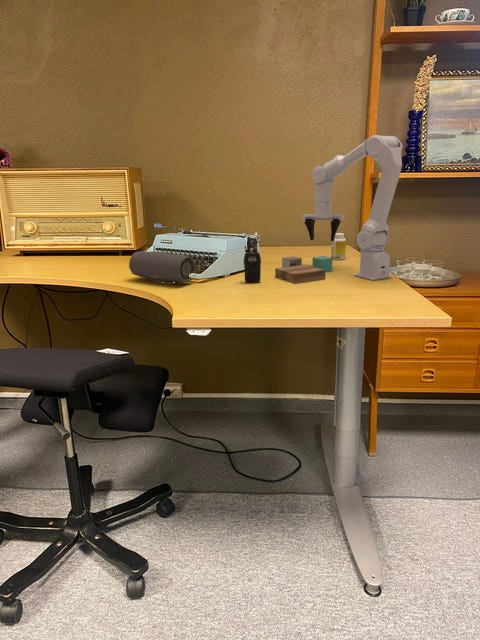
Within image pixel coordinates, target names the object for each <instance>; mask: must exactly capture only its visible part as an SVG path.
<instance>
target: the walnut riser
mask: <svg viewBox="0 0 480 640" xmlns="http://www.w3.org/2000/svg"><path fill="white" fill-rule="evenodd" d="M274 269H275V270H274V271H275V273H274V275H275V276H274V277H275V278H277V279H280V280H283V281H286V282H290V283H293V284H303V283H308V282H315V281H321V280H322V281H323V280H325V279H326V270H323V269H319V268H315V267H312V266H310V265H307V264H302V265H298V266H290V267H283V268H282V267H276V268H274Z"/></svg>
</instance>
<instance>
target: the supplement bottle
mask: <svg viewBox="0 0 480 640" xmlns="http://www.w3.org/2000/svg"><path fill="white" fill-rule="evenodd" d="M346 243H347V239H346V238H345V234H344V233H342V232H338V233H337V232H336V234H335V239H334V241H331V246H330V247H331V251H330V258H333V261H334V260H335V261H343V260H345V259H346V248H347V246H346Z"/></svg>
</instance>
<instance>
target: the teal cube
mask: <svg viewBox="0 0 480 640" xmlns="http://www.w3.org/2000/svg"><path fill="white" fill-rule="evenodd" d="M333 261H334V260H333V258H331V256H330V257H329V256H325V255H322V256H315V257H312V264H311V265H312V267H315V268H319V269H323V270H326V273H333ZM326 273H325V274H326Z"/></svg>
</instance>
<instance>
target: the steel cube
mask: <svg viewBox="0 0 480 640" xmlns="http://www.w3.org/2000/svg"><path fill="white" fill-rule="evenodd" d="M302 262H303V261H302V257H298V256H294V255H293V256H285V257H282V258H281V266H282V267H281V268H283V267H290V266H298V265H303V264H302Z"/></svg>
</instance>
